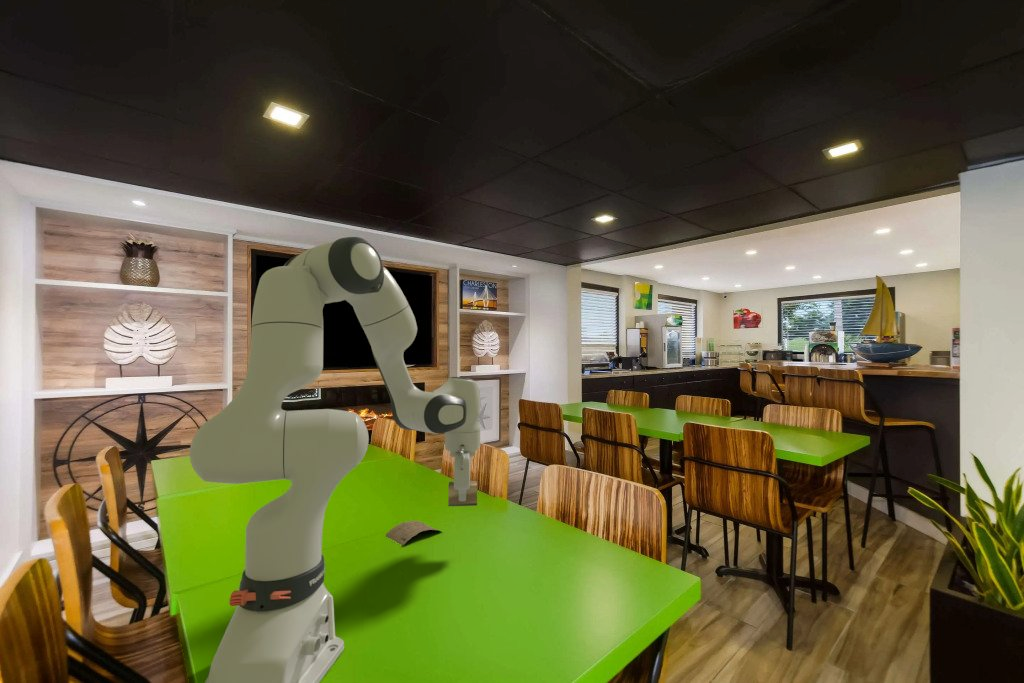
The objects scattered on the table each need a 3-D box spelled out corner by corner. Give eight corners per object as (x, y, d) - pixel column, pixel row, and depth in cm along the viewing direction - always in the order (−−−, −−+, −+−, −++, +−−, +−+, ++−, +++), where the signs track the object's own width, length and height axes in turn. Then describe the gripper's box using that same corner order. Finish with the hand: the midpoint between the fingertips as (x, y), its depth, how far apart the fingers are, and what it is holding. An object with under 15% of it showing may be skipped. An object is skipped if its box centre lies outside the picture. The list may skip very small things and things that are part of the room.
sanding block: (477, 505, 109) (477, 485, 109) (448, 506, 108) (448, 485, 108) (476, 500, 112) (476, 481, 112) (449, 501, 111) (449, 481, 111)
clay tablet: (400, 550, 110) (401, 539, 110) (379, 539, 117) (379, 529, 117) (446, 533, 121) (446, 523, 121) (424, 524, 128) (424, 514, 128)
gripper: (475, 450, 100) (475, 511, 100) (474, 433, 121) (474, 484, 120) (447, 451, 100) (447, 512, 99) (451, 434, 120) (451, 485, 120)
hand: (462, 497), depth 110 cm, fingers closed on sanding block, 3 cm apart
